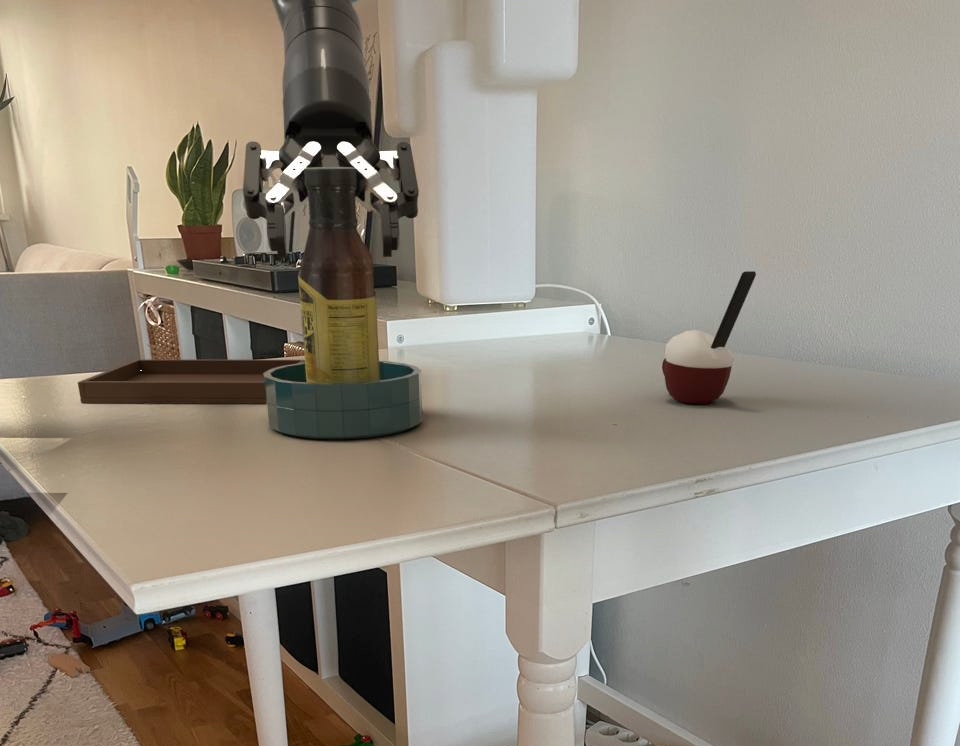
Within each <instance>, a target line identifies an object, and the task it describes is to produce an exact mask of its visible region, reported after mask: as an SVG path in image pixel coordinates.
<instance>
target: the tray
mask: <svg viewBox="0 0 960 746" xmlns="http://www.w3.org/2000/svg"><path fill="white" fill-rule="evenodd" d="M298 363H305V359H213V358H211V359H203V358H202V359H199V358H198V359H193V358H191V359H188V358H187V359H183V358H182V359H181V358H180V359H172V358H171V359H170V358H169V359H166V358H165V359H161V358H159V359H152V358H151V359H150V358H149V359H147V358H146V359H141V358H140V359H137V358H136V359H134V360H130V361H128V362H126V363H123V364H121V365H117V366H116V367H113V368H110V369H108V370H106V371H103V372H100V373H98V374H95V375H92V376H90V377H87V378H85V379H82V380H80V381H78V382H77V386H78V393H79V399H80V403H81V404H220V405H221V404H222V405H223V404H227V405H228V404H230V405H232V404H233V405H234V404H237V405H238V404H241V405H242V404H243V405H245V404H249V405H250V404H252V405H253V404H254V405H255V404H256V405H258V404H259V405H260V404H263V405H266V398H265V388H264V377H263V373H265V372H266V371H268V370H270V369H273V368H276V367H280V366H285V365H291V364H298ZM140 370H142V371H140Z"/></svg>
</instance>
